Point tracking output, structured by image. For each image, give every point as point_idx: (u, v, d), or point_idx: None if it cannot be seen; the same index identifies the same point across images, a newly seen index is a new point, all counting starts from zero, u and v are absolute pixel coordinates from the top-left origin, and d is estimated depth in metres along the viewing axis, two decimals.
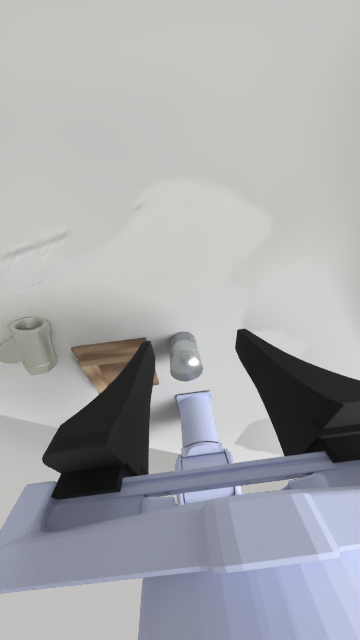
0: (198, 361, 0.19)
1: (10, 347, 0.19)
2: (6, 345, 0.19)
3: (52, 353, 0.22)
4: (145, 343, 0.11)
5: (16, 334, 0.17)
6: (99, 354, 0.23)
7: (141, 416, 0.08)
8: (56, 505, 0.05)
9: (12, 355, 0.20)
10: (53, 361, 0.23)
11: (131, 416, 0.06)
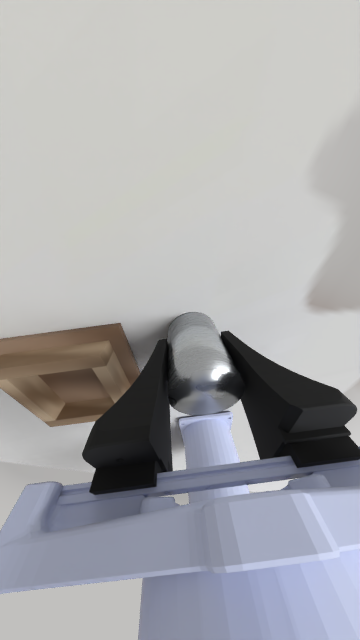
0: (237, 373, 0.08)
1: None
2: None
3: None
4: (162, 341, 0.11)
5: None
6: (29, 356, 0.12)
7: (165, 413, 0.08)
8: (56, 505, 0.05)
9: None
10: None
11: (160, 412, 0.06)
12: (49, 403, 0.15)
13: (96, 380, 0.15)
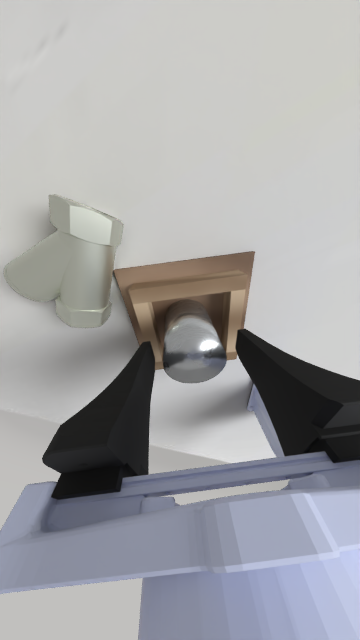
0: (220, 345, 0.09)
1: (42, 254, 0.09)
2: (32, 251, 0.09)
3: (109, 294, 0.12)
4: (145, 343, 0.11)
5: (71, 209, 0.07)
6: (168, 281, 0.12)
7: (141, 416, 0.08)
8: (56, 505, 0.05)
9: (42, 276, 0.09)
10: (107, 310, 0.12)
11: (131, 416, 0.06)
12: (159, 343, 0.15)
13: None
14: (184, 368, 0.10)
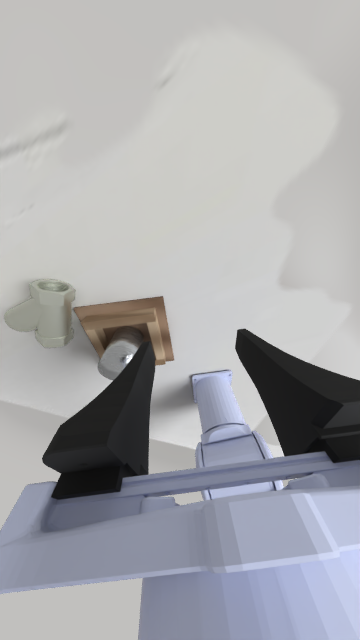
0: (129, 359, 0.17)
1: (26, 310, 0.16)
2: (21, 308, 0.16)
3: (70, 326, 0.19)
4: (145, 343, 0.11)
5: (39, 294, 0.15)
6: (107, 315, 0.19)
7: (141, 416, 0.08)
8: (56, 505, 0.05)
9: (26, 321, 0.17)
10: (69, 335, 0.20)
11: (131, 416, 0.06)
12: None
13: None
14: (112, 372, 0.17)
